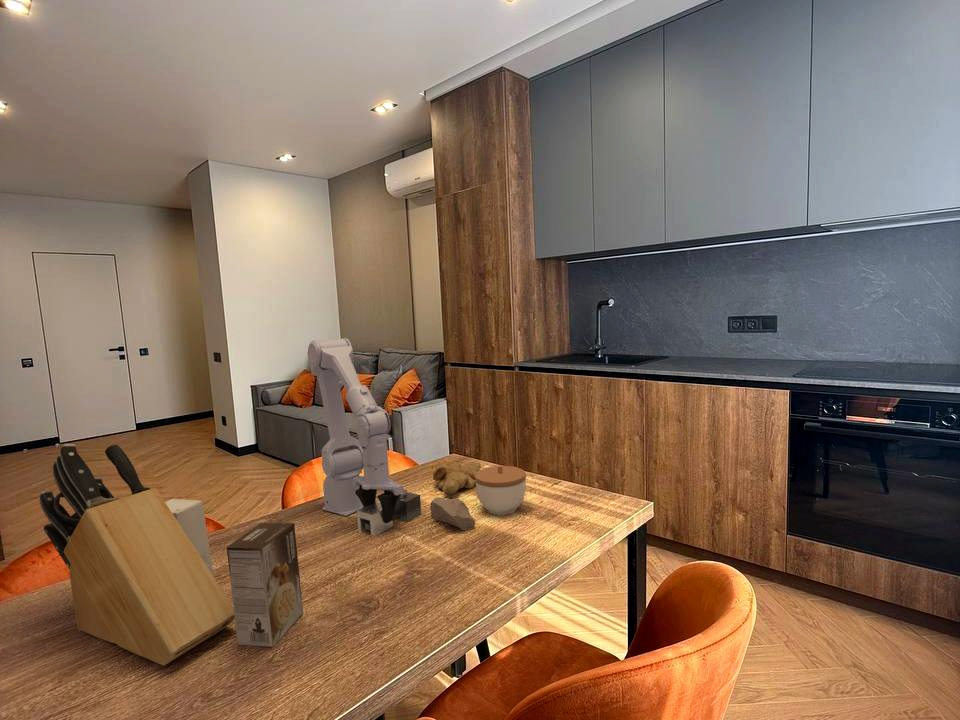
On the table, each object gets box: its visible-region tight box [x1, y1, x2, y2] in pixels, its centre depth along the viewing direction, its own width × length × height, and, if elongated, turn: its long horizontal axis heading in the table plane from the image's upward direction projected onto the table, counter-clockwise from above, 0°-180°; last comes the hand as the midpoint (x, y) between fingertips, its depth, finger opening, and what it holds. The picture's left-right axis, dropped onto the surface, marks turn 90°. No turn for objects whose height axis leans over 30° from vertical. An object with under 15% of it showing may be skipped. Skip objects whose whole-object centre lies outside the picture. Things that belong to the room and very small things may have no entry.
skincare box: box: [165, 498, 214, 576], centre depth 99 cm, size 8×7×16 cm
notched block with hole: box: [356, 501, 394, 537], centre depth 119 cm, size 5×6×5 cm
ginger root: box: [432, 462, 482, 495], centre depth 145 cm, size 16×16×8 cm
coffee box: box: [226, 522, 304, 648], centre depth 82 cm, size 9×6×16 cm
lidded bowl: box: [474, 464, 527, 516], centre depth 126 cm, size 13×13×11 cm
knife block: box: [39, 443, 235, 667], centre depth 84 cm, size 11×35×31 cm, turn 63°
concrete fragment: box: [429, 496, 476, 531], centre depth 121 cm, size 7×14×6 cm, turn 27°
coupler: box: [365, 488, 422, 531], centre depth 123 cm, size 8×14×6 cm, turn 145°
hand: (379, 519), depth 120 cm, fingers closed on notched block with hole, 5 cm apart
